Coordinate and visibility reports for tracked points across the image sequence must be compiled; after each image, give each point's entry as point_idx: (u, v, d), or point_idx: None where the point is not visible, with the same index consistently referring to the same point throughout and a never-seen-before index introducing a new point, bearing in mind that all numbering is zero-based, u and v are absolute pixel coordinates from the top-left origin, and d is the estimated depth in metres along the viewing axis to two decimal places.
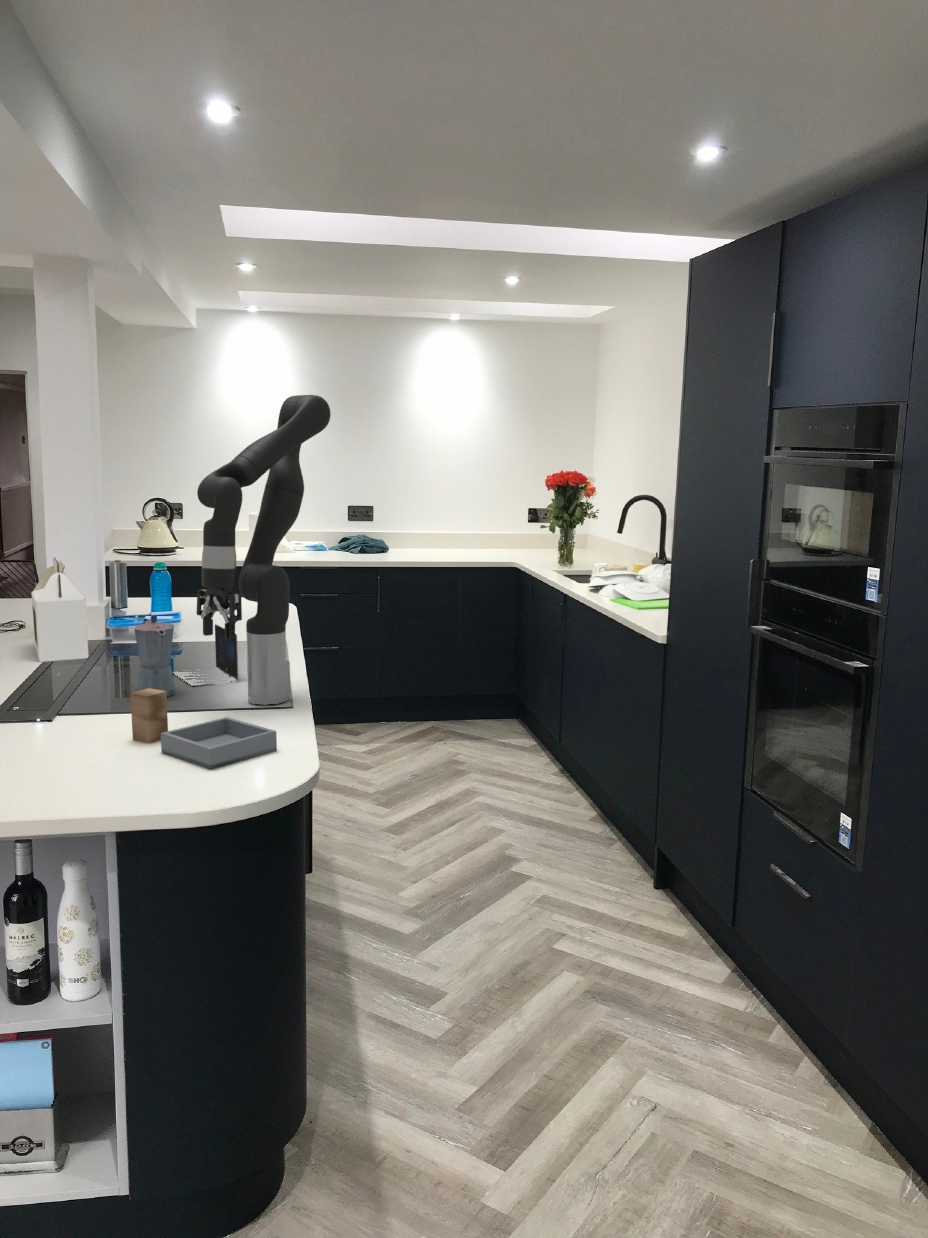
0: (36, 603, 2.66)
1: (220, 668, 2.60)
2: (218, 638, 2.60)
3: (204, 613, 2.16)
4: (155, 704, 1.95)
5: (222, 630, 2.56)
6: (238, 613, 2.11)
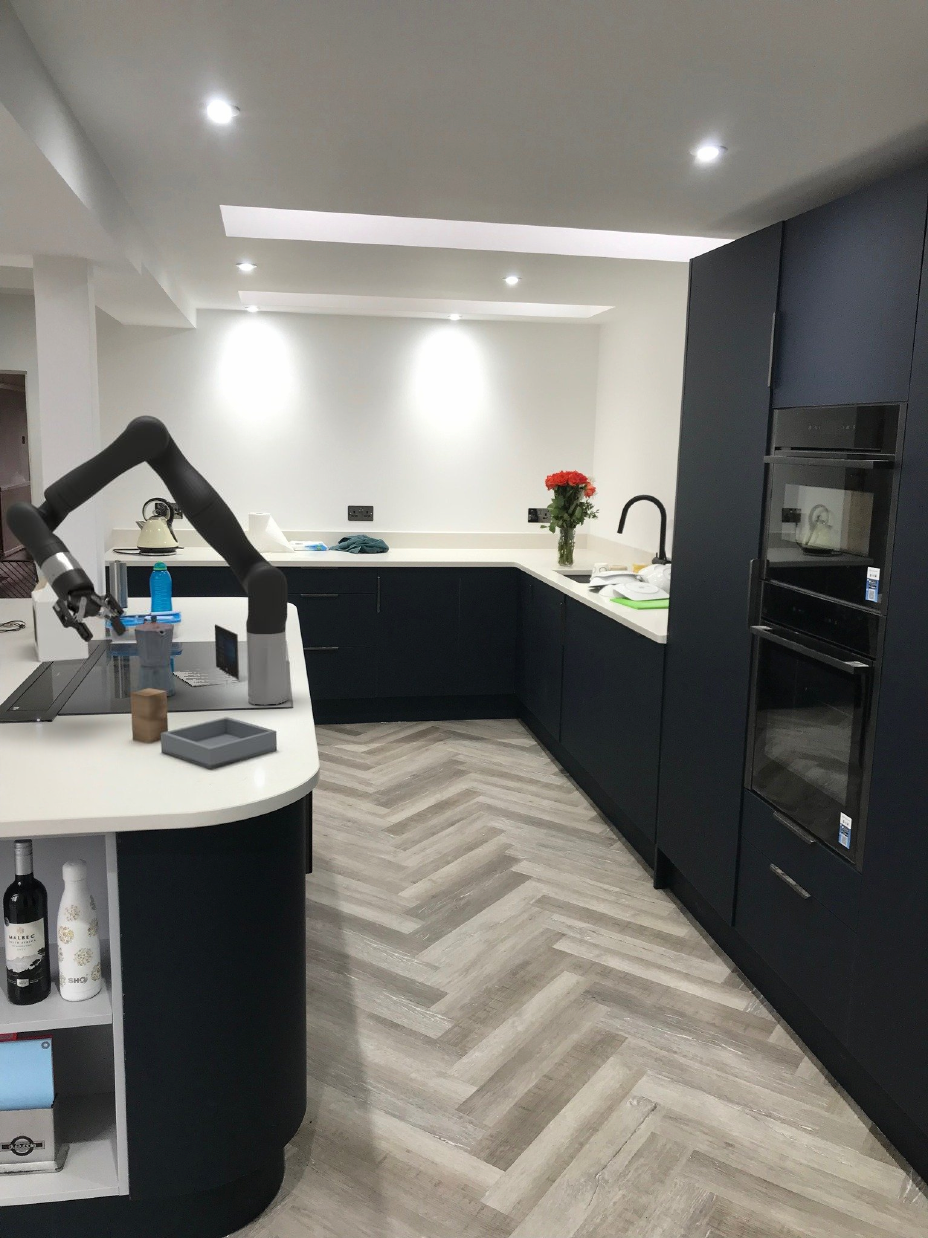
0: (36, 603, 2.66)
1: (220, 668, 2.60)
2: (218, 638, 2.60)
3: None
4: (155, 704, 1.95)
5: (222, 630, 2.56)
6: None
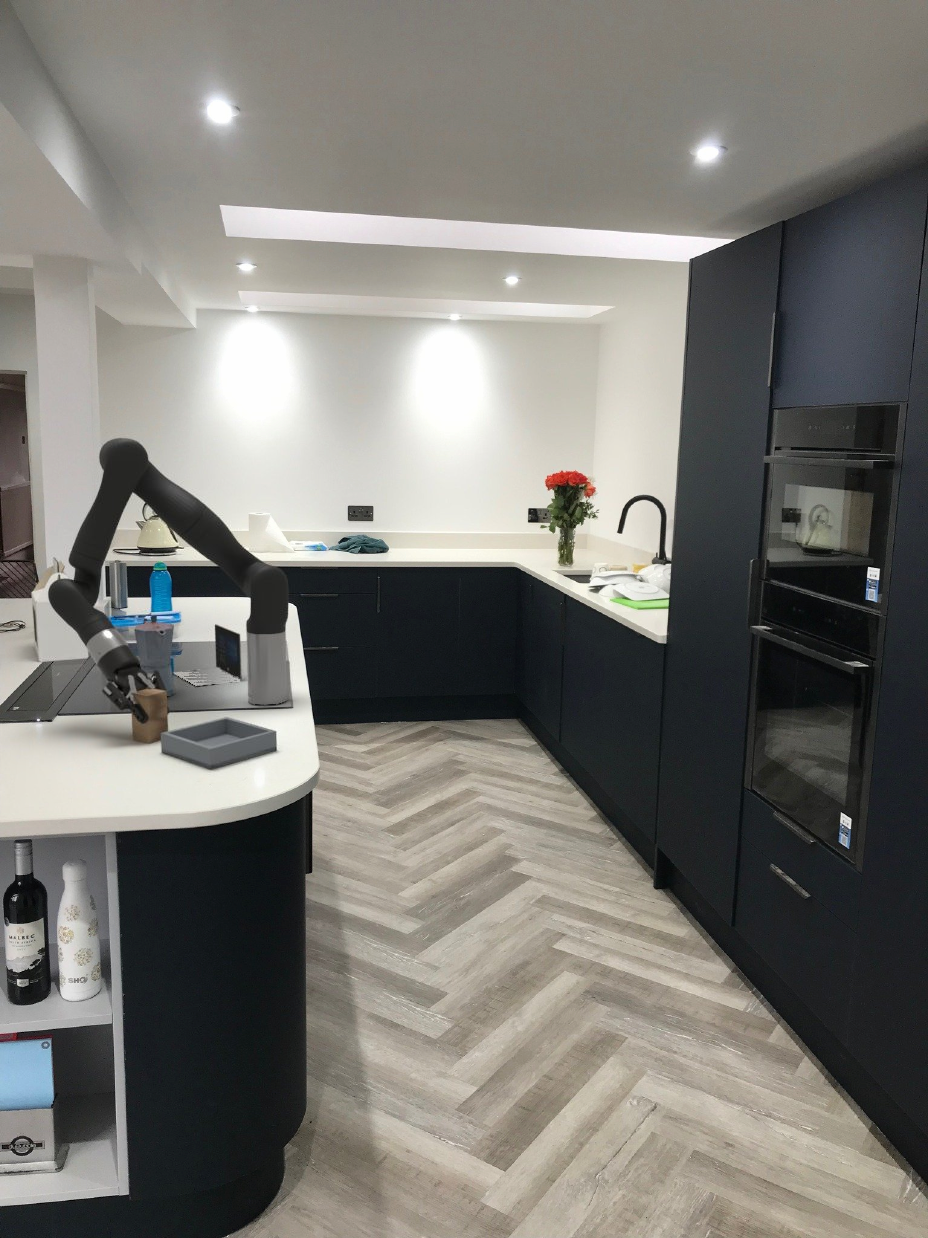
0: (36, 603, 2.66)
1: (221, 668, 2.60)
2: (219, 638, 2.60)
3: None
4: (155, 704, 1.95)
5: (223, 630, 2.56)
6: None
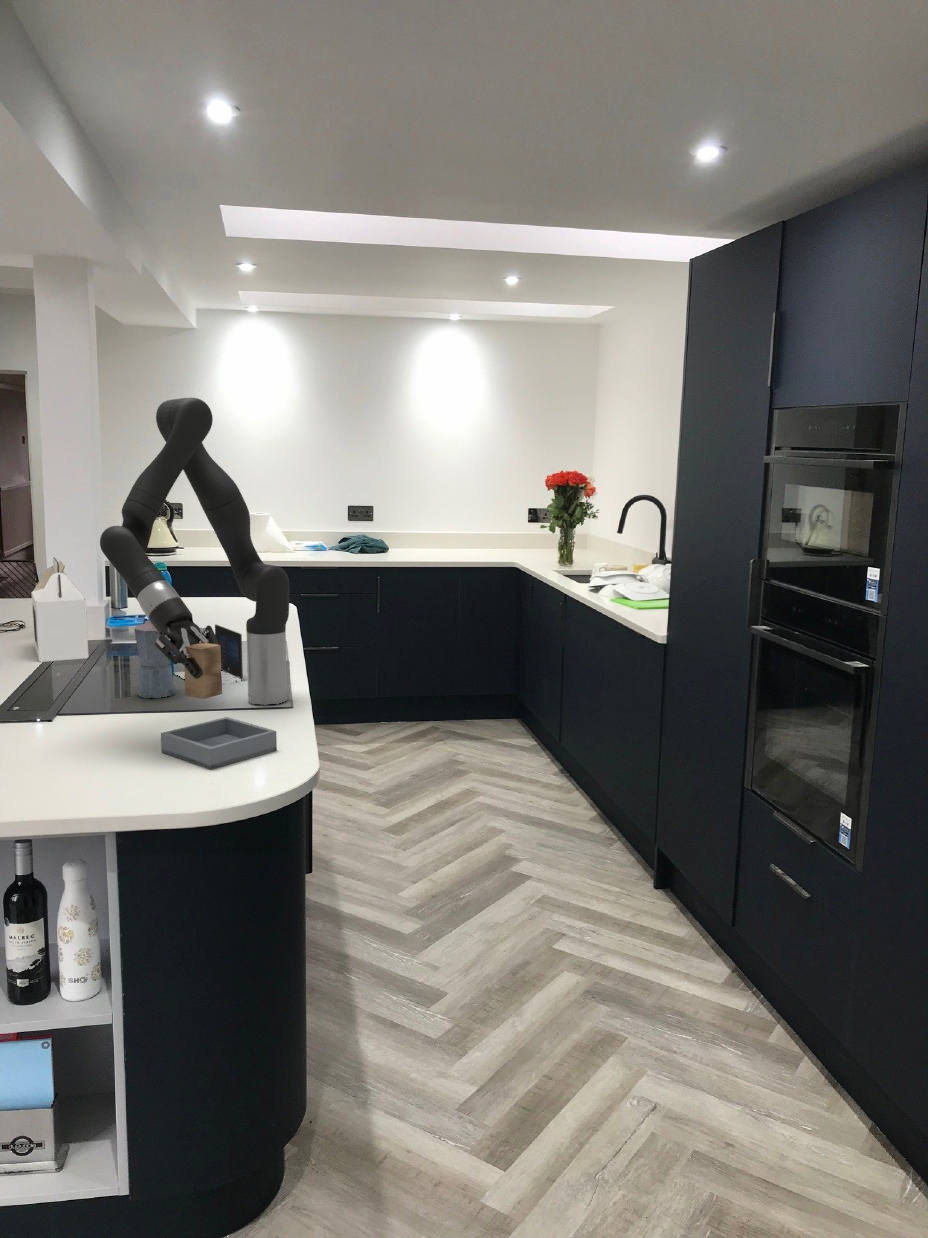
0: (36, 603, 2.66)
1: None
2: (219, 638, 2.60)
3: None
4: (209, 658, 1.86)
5: (224, 630, 2.56)
6: None
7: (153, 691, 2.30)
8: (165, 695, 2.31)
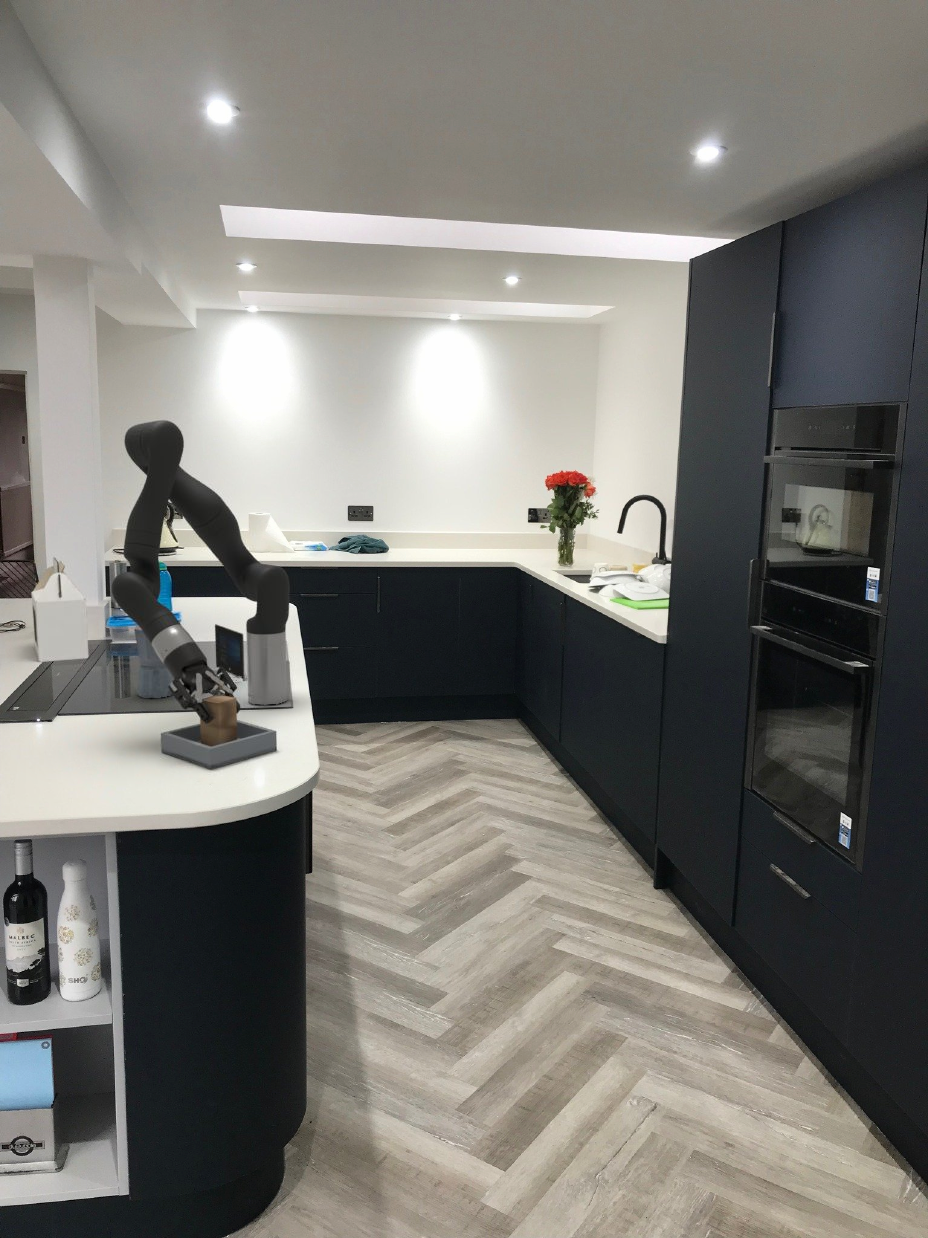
0: (36, 603, 2.66)
1: None
2: (219, 638, 2.60)
3: None
4: (225, 712, 1.87)
5: (224, 630, 2.56)
6: None
7: (153, 691, 2.30)
8: (165, 695, 2.31)
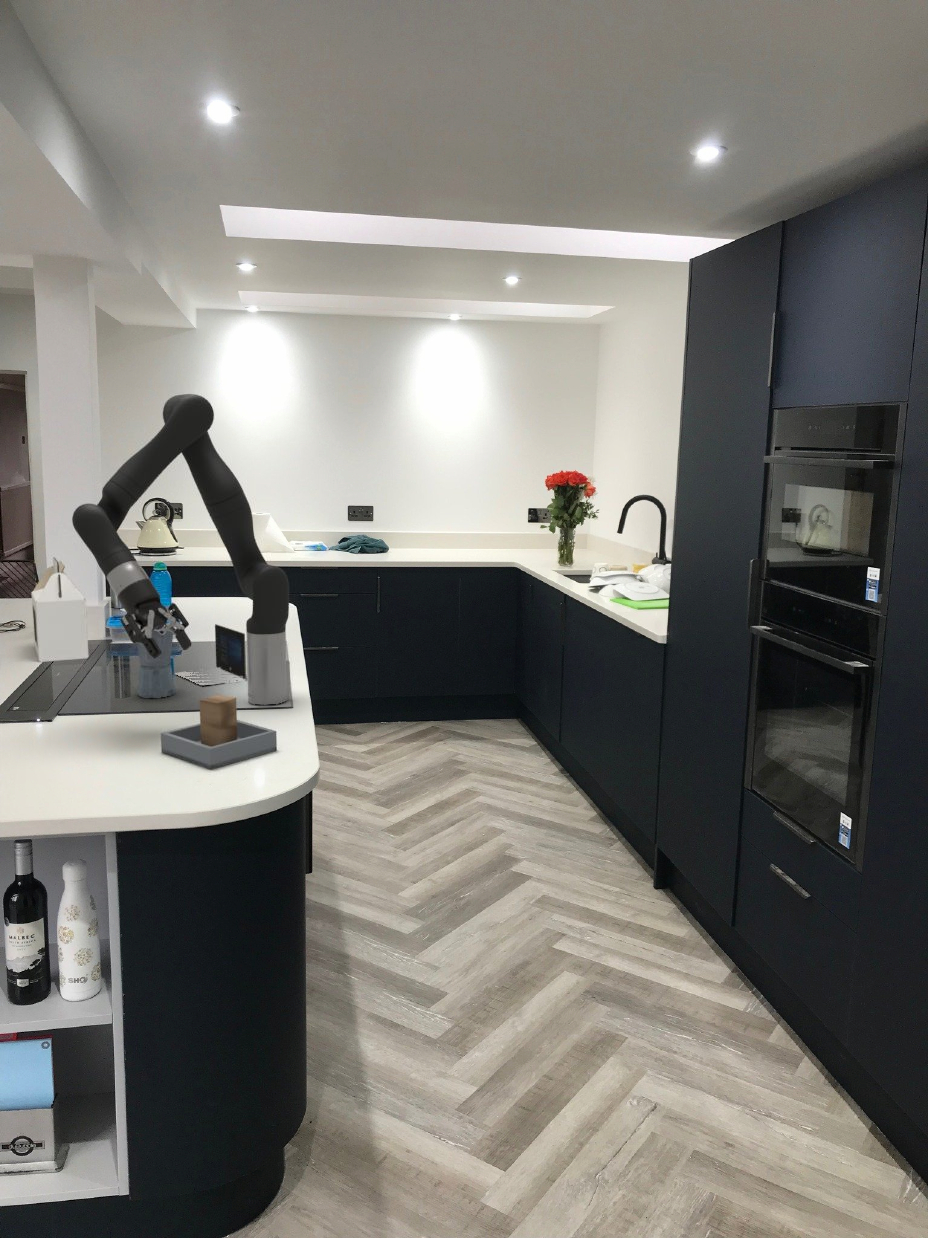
0: (36, 603, 2.66)
1: (222, 668, 2.60)
2: (219, 638, 2.60)
3: None
4: (225, 712, 1.87)
5: (225, 630, 2.57)
6: None
7: (153, 691, 2.30)
8: (165, 695, 2.31)
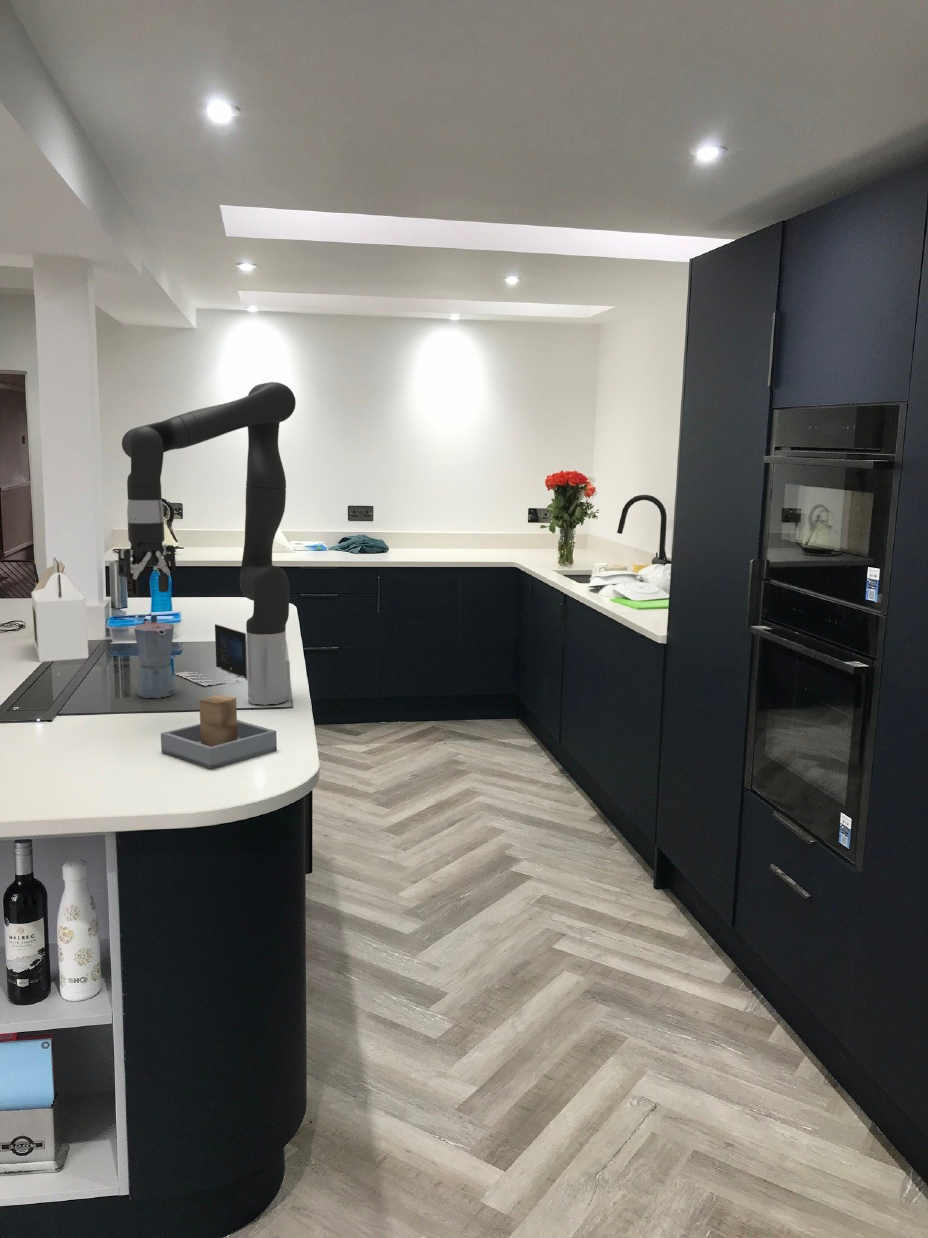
0: (36, 603, 2.66)
1: (222, 668, 2.60)
2: (219, 638, 2.60)
3: None
4: (225, 712, 1.87)
5: (225, 630, 2.57)
6: None
7: (153, 691, 2.30)
8: (165, 695, 2.31)
